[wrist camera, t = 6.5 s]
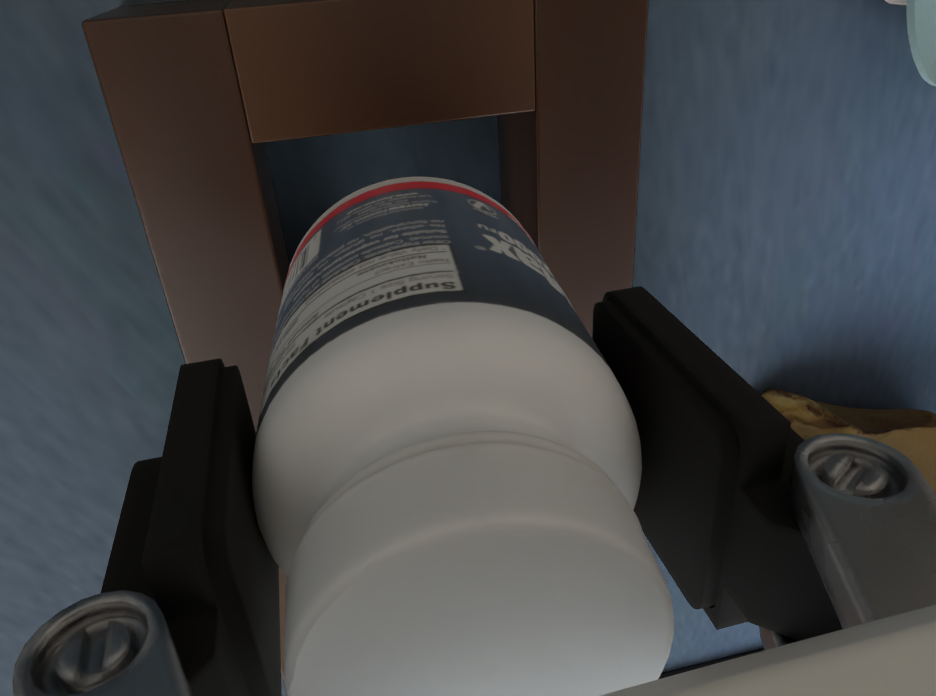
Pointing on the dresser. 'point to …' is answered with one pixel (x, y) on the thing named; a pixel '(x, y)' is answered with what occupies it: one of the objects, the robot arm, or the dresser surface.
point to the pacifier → (922, 35)
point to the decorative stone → (864, 426)
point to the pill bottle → (449, 464)
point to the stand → (360, 109)
